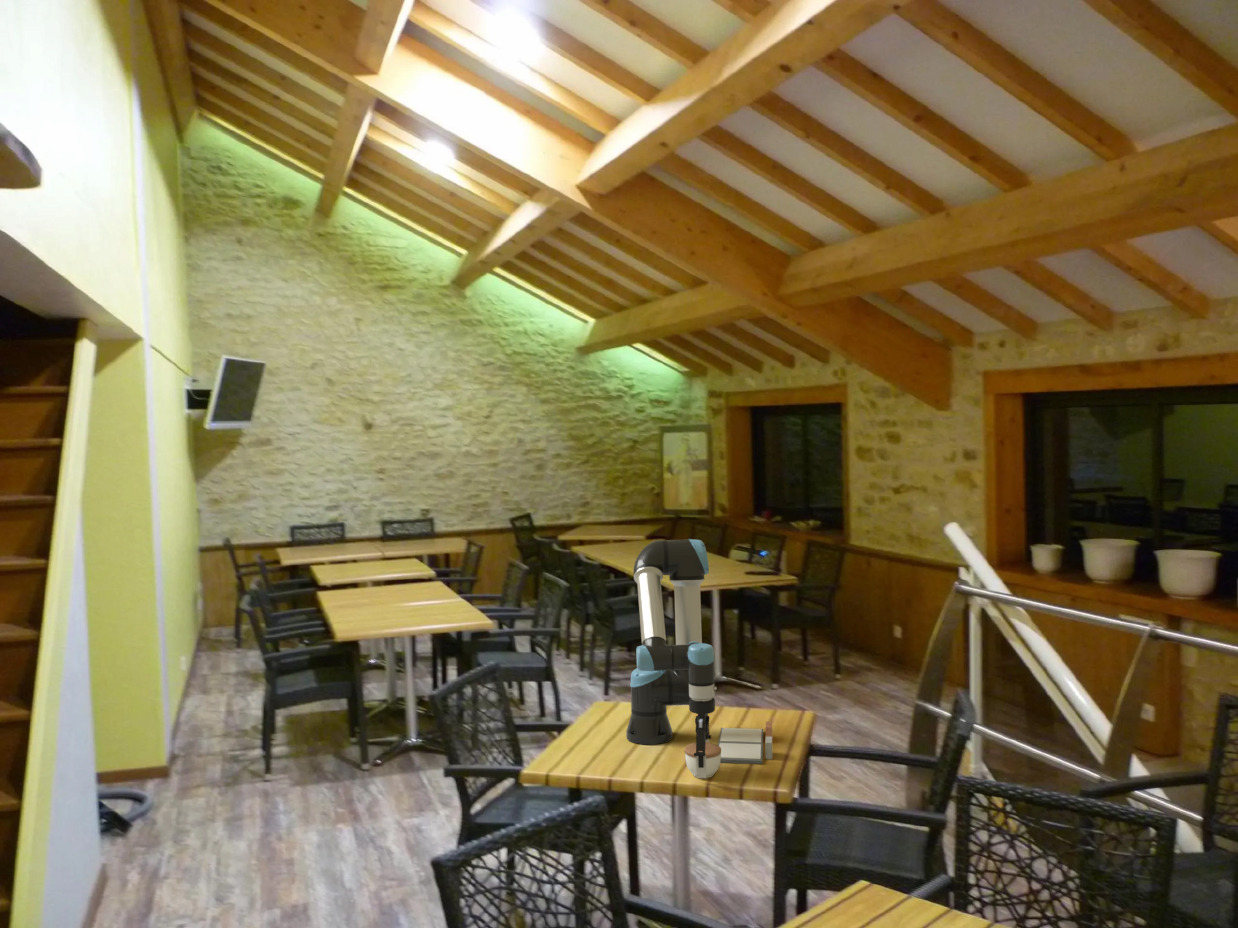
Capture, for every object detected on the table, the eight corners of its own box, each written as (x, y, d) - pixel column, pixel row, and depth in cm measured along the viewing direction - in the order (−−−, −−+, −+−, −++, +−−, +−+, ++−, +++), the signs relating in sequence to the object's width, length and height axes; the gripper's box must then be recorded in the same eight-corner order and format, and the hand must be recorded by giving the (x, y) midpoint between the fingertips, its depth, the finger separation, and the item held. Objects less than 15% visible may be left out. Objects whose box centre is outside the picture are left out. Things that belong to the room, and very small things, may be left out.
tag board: (715, 762, 289) (715, 746, 289) (721, 730, 319) (720, 715, 319) (772, 764, 286) (772, 747, 286) (772, 732, 316) (772, 717, 316)
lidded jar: (680, 778, 277) (679, 746, 277) (691, 765, 287) (691, 735, 286) (715, 782, 273) (715, 750, 272) (726, 770, 283) (725, 738, 282)
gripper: (712, 710, 266) (713, 785, 267) (717, 686, 291) (718, 754, 291) (685, 709, 267) (686, 784, 268) (692, 685, 292) (694, 754, 293)
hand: (703, 769), depth 280 cm, fingers open, 13 cm apart
